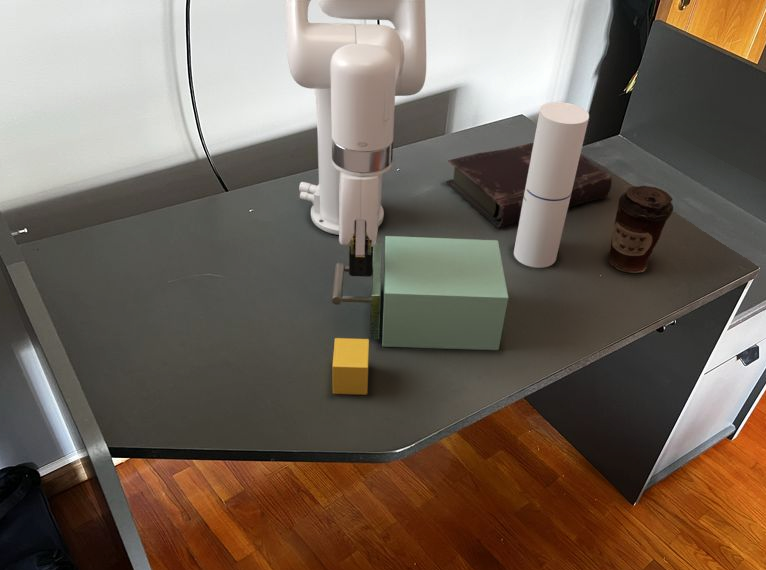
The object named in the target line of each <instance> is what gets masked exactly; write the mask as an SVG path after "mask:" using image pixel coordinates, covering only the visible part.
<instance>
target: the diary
mask: <svg viewBox="0 0 766 570" xmlns="http://www.w3.org/2000/svg"><path fill="white" fill-rule="evenodd" d="M533 144H534V142H529V143H526V144H521V145H517V146H513V147H508V148H504V149H497V150H490V151H483V152H478V153H477V152H476V153H474V154H473V153H472V154H469V155H464V156H460V157H456V158H452V159H448V160H447V162H448V163H449V164H450V165H452V166H453V167H454V168H453V169H454V171H453V179H449V180H446V181H445V183H446V184H447V185H448V186H449V187H451V189H453V190H454V191H455V192H456V193H458V195H459V196H461V197H462V198H463V199H464V200H465V201H467V202H468V203H469V204H470V205H471V206H472V207H474V208H475V210H477V211H478V212H479V213H480V214H481V215H482V216H483V217H485V218H486V219H487V220H488V221H489V222H491V223H492V224H493V225H494V226H495V227H496V228H498V229H499V228H502V227H506V226H509V225H512V224H515V223H519V220H520V215H521V209H522V204H523V198H524V193H525V187H526V182H527V176H528V171H529V166H530V160H531V155H532V150H533ZM612 182H613V177H612V175H611V174H609V173H607V172H606V171H604V170H603V169H601V168H600V167H599V166H598V165H596V164H595V163H594V162H592V161H591V160H590V159H588V158H587V157H585V155H584V154H582V153H581V154H580V158H579V162H578V167H577V171H576V175H575V180H574V184H573V188H572V192H571V197H570V201H569V206H568V208H571V207H574V206H577V205H579V204H583V203H588V202H592V201H596V200H600V199H601V200H602V199H604V198H607V197H608V196H609V193H610V191H611V188H612Z"/></svg>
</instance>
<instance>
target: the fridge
mask: <svg viewBox="0 0 766 570" xmlns="http://www.w3.org/2000/svg"><path fill="white" fill-rule="evenodd" d="M384 237H385V238H384V239H385V240H384V261H383V262H384V263H383V287H382V289H383V290H382V291H383V292H382V293H383V294H382V337H381V338H382V339H381V340H382V341H381V342H382V343H381V347H383V348H385V347H386V348H412V349H413V348H414V349H415V348H417V349H418V348H419V349H446V350H447V349H448V350H477V351H478V350H479V351H499V350H500V345H501V340H502V335H503V334H502V333H503V329H504V323H505V317H506V312H507V308H508V307H507V306H508V302H509V294H508V288H507V284H506V277H505V271H504V266H503V260H502V254H501V249H500V245H499V240H497V239H495V240H493V239H471V238H468V239H467V238H450V237H449V238H448V237H446V238H445V237H422V236H419V237H418V236H399V235H398V236H397V235H385V236H384Z"/></svg>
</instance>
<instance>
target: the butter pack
mask: <svg viewBox="0 0 766 570" xmlns="http://www.w3.org/2000/svg"><path fill="white" fill-rule="evenodd" d="M333 347H334V348H333V356H332V367H331V368H332V394H333V395H363V396H367V395H368V388H369V387H368V386H369V385H368V384H369V357H370V354H369V353H370V339H369V338H347V337H345V338H344V337H335V338H334V345H333Z"/></svg>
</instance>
